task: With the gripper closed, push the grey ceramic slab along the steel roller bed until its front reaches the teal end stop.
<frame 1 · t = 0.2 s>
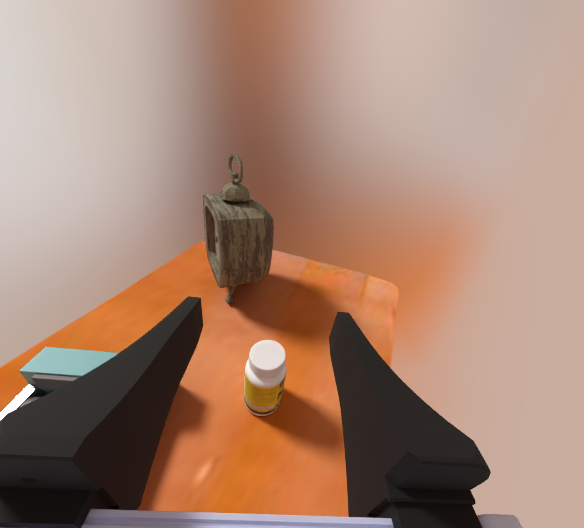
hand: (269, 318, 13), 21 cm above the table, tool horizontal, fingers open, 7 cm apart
end stop: (112, 390, 28), on the table
supplement bottle: (262, 398, 30), on the table
tabletop clock: (236, 285, 49), on the table
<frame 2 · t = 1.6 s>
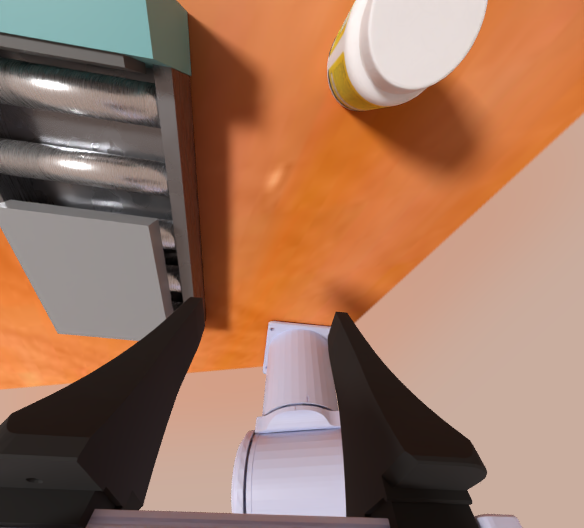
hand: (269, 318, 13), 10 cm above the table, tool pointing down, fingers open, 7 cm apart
slab: (102, 282, 19), point 4 cm above the table, slide at 0.0 cm
roller bed: (119, 219, 21), on the table
end stop: (70, 23, 14), on the table
supplement bottle: (362, 68, 15), on the table
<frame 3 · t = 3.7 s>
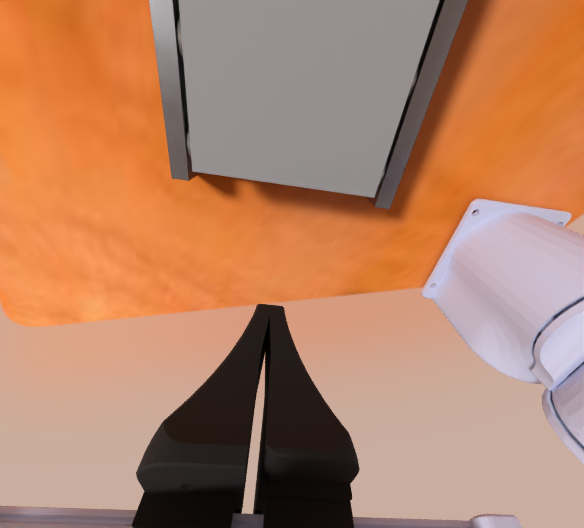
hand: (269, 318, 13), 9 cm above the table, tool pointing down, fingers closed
slab: (303, 41, 10), point 4 cm above the table, slide at 0.0 cm
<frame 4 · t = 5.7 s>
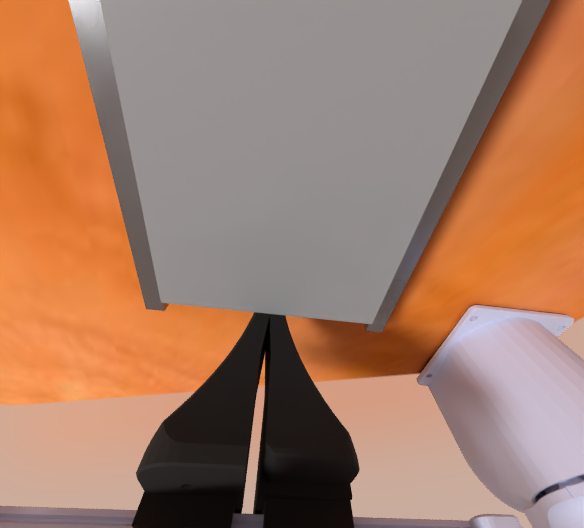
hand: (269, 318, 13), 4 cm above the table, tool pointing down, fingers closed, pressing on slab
slab: (287, 180, 9), point 4 cm above the table, slide at 1.3 cm, touching gripper
roller bed: (296, 96, 10), on the table
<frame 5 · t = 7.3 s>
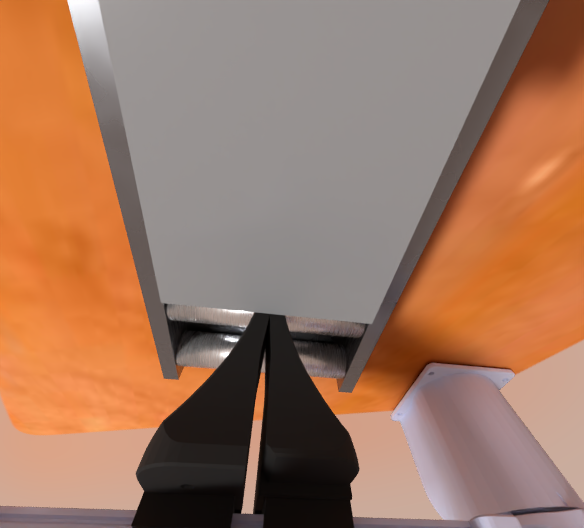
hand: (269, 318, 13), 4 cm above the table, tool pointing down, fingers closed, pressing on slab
slab: (286, 180, 9), point 4 cm above the table, slide at 8.0 cm, touching gripper
roller bed: (278, 234, 14), on the table
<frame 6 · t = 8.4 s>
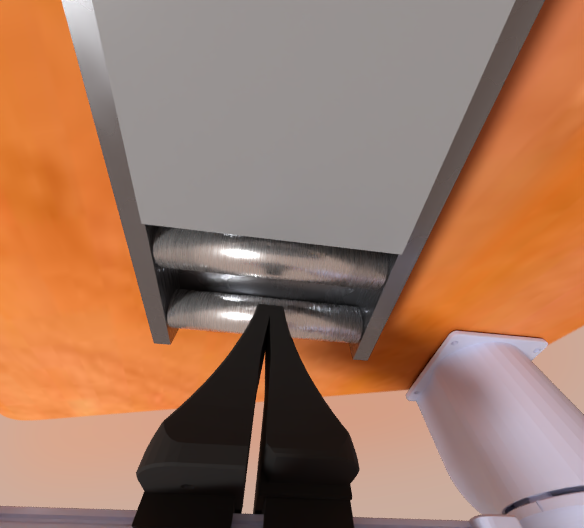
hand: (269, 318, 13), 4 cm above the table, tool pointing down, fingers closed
slab: (300, 31, 6), point 4 cm above the table, slide at 8.0 cm
roller bed: (285, 163, 12), on the table
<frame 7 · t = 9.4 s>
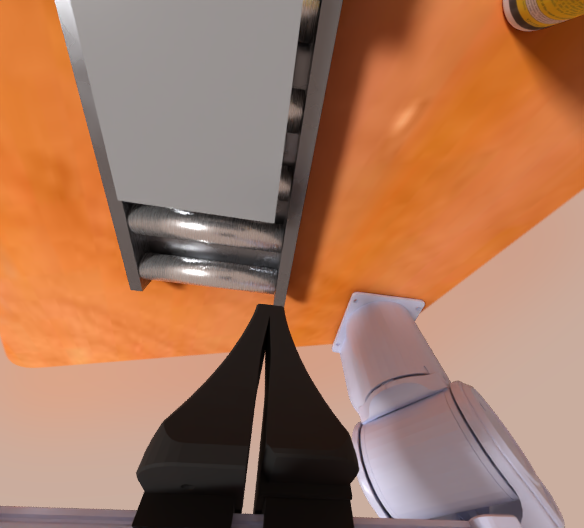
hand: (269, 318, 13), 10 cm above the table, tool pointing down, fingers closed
slab: (196, 103, 13), point 4 cm above the table, slide at 8.0 cm
roller bed: (216, 167, 18), on the table
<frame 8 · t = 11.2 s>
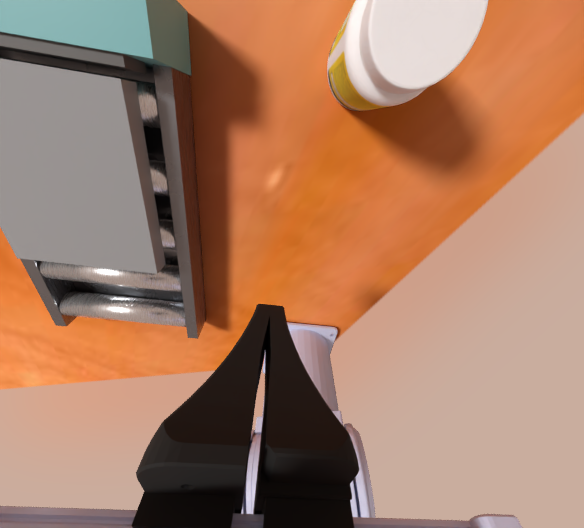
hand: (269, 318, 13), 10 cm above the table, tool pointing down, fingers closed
slab: (68, 182, 15), point 4 cm above the table, slide at 8.0 cm
roller bed: (119, 219, 21), on the table
end stop: (69, 23, 14), on the table
supplement bottle: (362, 67, 15), on the table
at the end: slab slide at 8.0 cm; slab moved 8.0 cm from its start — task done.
